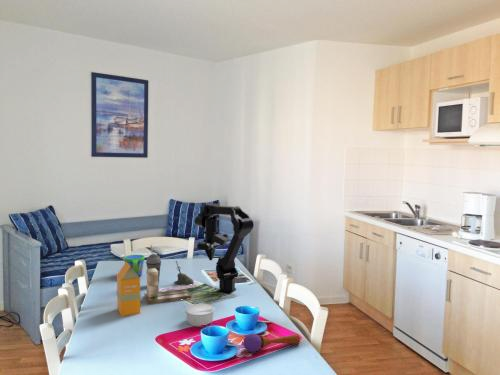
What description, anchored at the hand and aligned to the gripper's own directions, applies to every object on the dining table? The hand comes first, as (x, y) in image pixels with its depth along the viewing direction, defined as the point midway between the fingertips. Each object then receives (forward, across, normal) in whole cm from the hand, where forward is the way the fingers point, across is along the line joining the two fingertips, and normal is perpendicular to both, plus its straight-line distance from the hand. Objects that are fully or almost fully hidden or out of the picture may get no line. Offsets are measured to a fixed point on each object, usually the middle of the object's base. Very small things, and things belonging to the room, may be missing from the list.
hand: (210, 260), depth 211 cm
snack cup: (+12, -4, +43) cm, 45 cm away
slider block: (+10, -32, +12) cm, 35 cm away
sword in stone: (+12, -4, +13) cm, 18 cm away
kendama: (+12, -53, -51) cm, 75 cm away
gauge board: (+12, -26, +8) cm, 30 cm away
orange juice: (+12, -46, +14) cm, 50 cm away
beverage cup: (+12, -14, +24) cm, 30 cm away
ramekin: (+12, -44, -18) cm, 49 cm away
